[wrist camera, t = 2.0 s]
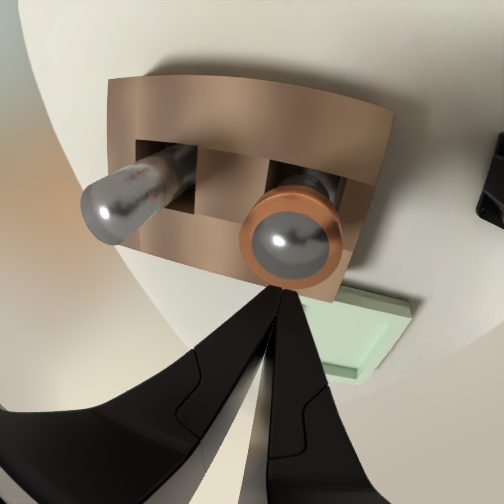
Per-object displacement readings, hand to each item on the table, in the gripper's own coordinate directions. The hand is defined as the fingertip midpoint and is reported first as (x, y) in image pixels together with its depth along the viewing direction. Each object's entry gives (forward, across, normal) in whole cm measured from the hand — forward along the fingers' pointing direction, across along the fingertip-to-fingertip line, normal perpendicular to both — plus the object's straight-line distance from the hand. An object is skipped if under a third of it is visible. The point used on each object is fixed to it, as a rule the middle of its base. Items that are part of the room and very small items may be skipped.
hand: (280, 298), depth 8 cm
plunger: (+8, 0, 0) cm, 8 cm away
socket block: (+11, +5, 0) cm, 12 cm away
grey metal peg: (+11, +8, 0) cm, 14 cm away
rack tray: (+11, -5, +12) cm, 17 cm away
